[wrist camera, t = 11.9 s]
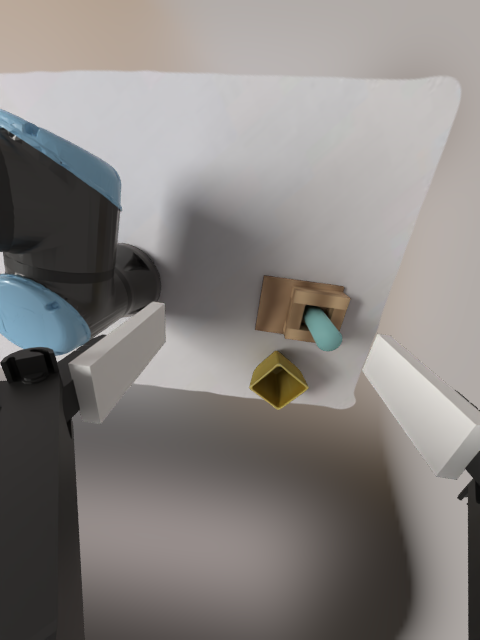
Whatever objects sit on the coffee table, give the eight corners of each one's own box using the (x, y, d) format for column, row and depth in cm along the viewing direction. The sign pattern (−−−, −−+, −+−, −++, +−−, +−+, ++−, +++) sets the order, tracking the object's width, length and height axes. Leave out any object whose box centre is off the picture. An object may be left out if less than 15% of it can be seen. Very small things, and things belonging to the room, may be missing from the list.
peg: (299, 319, 47) (313, 349, 36) (303, 302, 45) (319, 327, 34) (318, 321, 47) (338, 352, 36) (323, 304, 45) (345, 330, 34)
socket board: (255, 327, 50) (254, 338, 45) (263, 275, 45) (264, 281, 40) (326, 338, 49) (333, 349, 45) (342, 286, 45) (352, 293, 40)
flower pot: (275, 383, 56) (278, 411, 47) (249, 363, 54) (248, 388, 46) (302, 362, 52) (309, 388, 44) (275, 340, 51) (278, 362, 42)
